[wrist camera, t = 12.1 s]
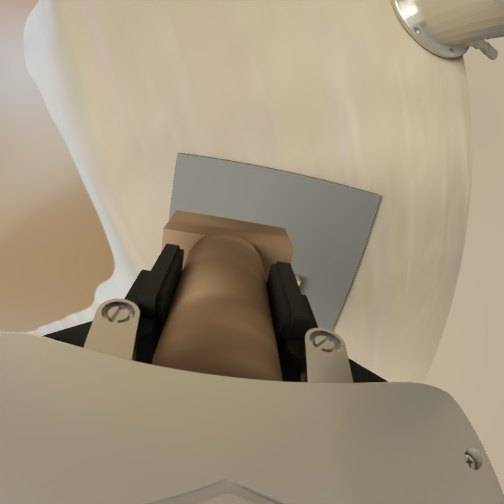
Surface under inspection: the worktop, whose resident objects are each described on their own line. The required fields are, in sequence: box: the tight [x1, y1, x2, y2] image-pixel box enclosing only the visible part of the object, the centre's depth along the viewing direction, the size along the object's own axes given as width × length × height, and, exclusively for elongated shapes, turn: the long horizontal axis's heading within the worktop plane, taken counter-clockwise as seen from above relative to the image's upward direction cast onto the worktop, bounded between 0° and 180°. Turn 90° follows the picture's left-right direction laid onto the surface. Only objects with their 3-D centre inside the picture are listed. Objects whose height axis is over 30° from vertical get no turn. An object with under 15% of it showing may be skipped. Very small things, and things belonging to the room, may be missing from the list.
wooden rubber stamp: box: [152, 210, 294, 381], centre depth 10 cm, size 6×4×13 cm, turn 79°
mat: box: [169, 153, 381, 331], centre depth 33 cm, size 22×24×1 cm
